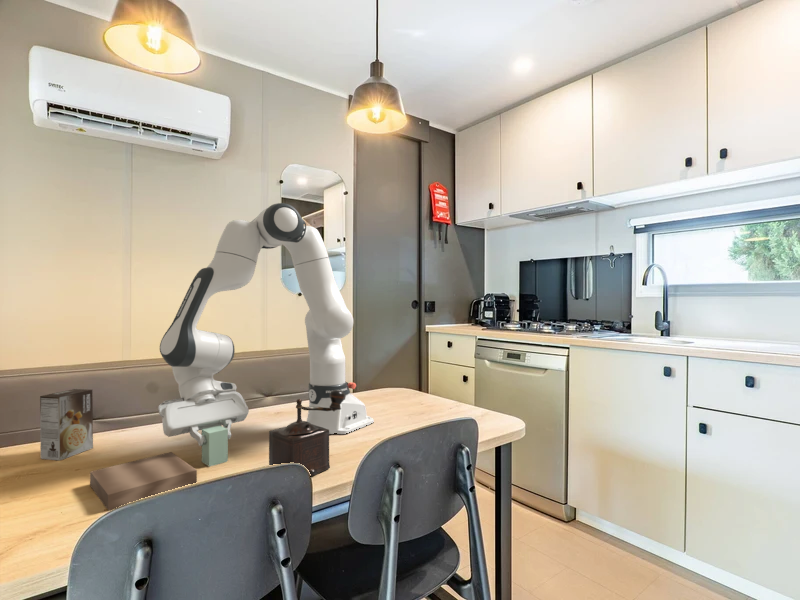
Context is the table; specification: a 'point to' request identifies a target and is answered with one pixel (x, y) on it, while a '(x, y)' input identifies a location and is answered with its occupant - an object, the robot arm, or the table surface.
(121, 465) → the walnut platform
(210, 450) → the sage block
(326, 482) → the table surface
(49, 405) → the coffee box
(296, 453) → the manual coffee grinder
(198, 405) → the robot arm
